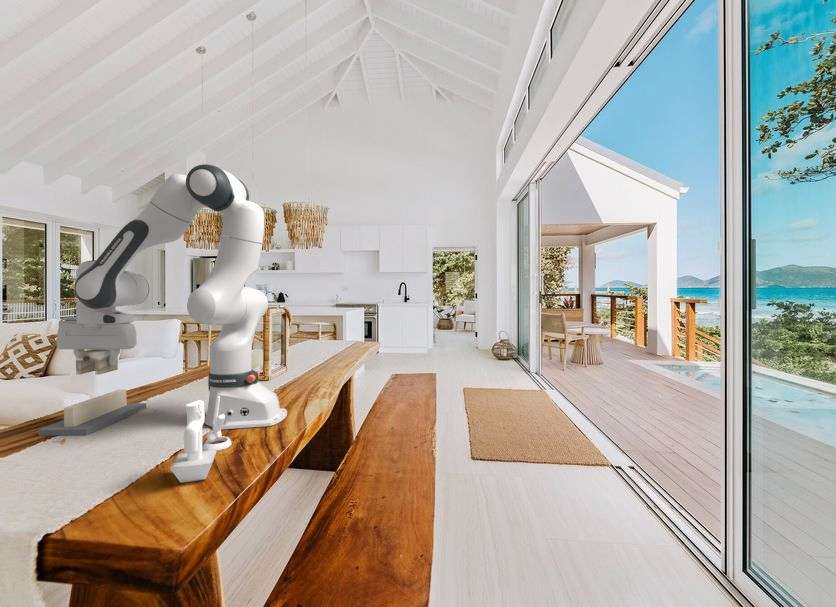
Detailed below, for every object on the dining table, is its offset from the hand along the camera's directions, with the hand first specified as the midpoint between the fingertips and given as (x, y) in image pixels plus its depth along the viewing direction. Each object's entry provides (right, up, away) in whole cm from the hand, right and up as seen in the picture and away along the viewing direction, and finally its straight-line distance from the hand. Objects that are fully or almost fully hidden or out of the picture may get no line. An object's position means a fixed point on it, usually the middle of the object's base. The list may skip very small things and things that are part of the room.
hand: (97, 364), depth 113 cm
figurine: (+47, -18, -34) cm, 61 cm away
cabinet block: (0, -2, 0) cm, 2 cm away
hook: (+44, -17, -18) cm, 50 cm away
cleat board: (0, -16, 0) cm, 16 cm away
